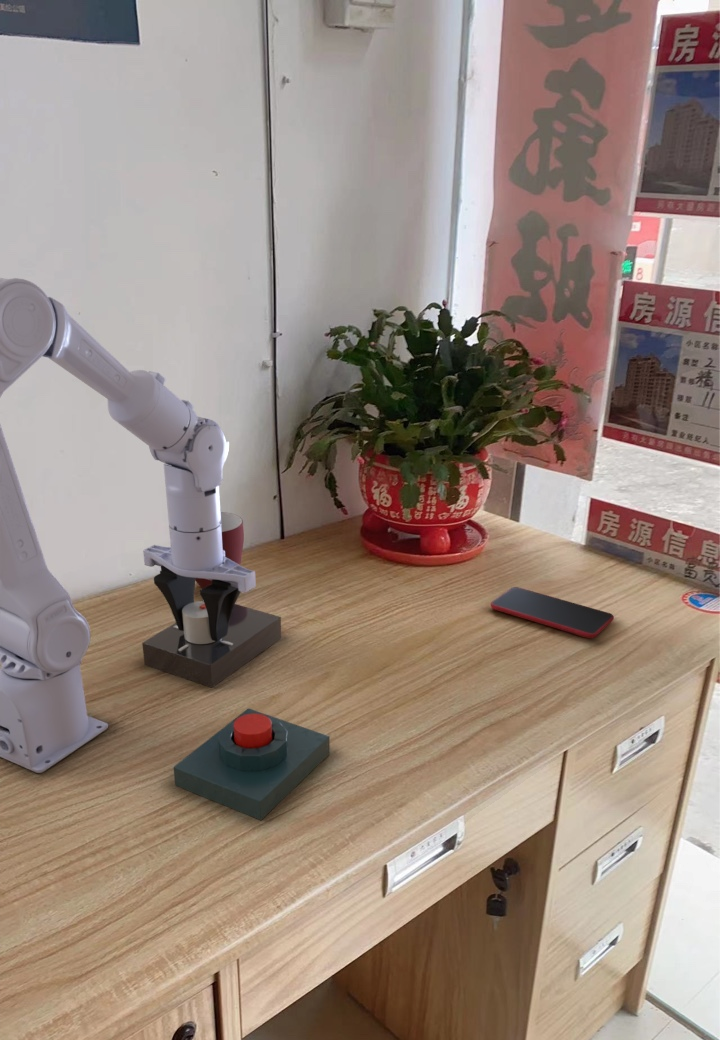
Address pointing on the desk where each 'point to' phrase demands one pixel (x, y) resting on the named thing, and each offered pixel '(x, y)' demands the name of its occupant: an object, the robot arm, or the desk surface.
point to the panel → (213, 647)
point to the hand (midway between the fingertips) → (203, 632)
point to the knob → (196, 623)
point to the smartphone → (553, 612)
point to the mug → (229, 541)
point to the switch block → (252, 767)
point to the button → (252, 731)
